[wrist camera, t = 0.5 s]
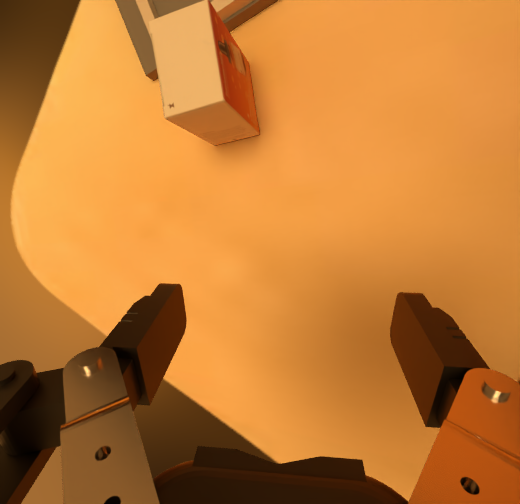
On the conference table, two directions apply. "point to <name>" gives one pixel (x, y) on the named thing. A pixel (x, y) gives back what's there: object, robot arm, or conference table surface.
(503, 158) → the conference table surface
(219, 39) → the small box
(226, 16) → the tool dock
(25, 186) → the conference table surface
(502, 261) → the conference table surface
